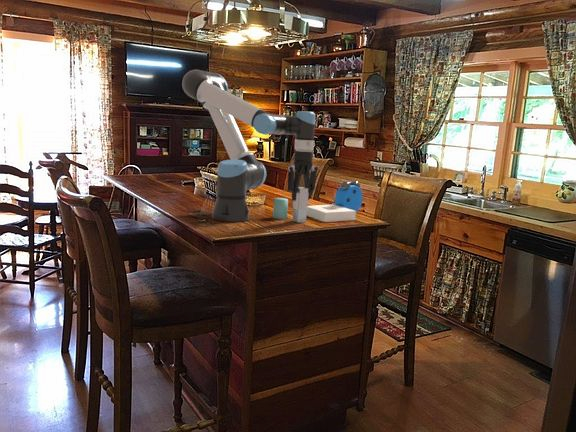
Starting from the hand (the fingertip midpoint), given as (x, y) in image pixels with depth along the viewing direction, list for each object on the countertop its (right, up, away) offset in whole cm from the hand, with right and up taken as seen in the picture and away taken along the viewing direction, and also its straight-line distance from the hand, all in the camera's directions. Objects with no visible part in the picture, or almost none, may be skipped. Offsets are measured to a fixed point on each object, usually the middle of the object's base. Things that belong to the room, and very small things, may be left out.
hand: (300, 208), depth 202 cm
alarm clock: (+23, -2, +26) cm, 35 cm away
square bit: (0, -6, +1) cm, 6 cm away
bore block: (+13, -4, +14) cm, 19 cm away
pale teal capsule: (-8, -4, +7) cm, 11 cm away
